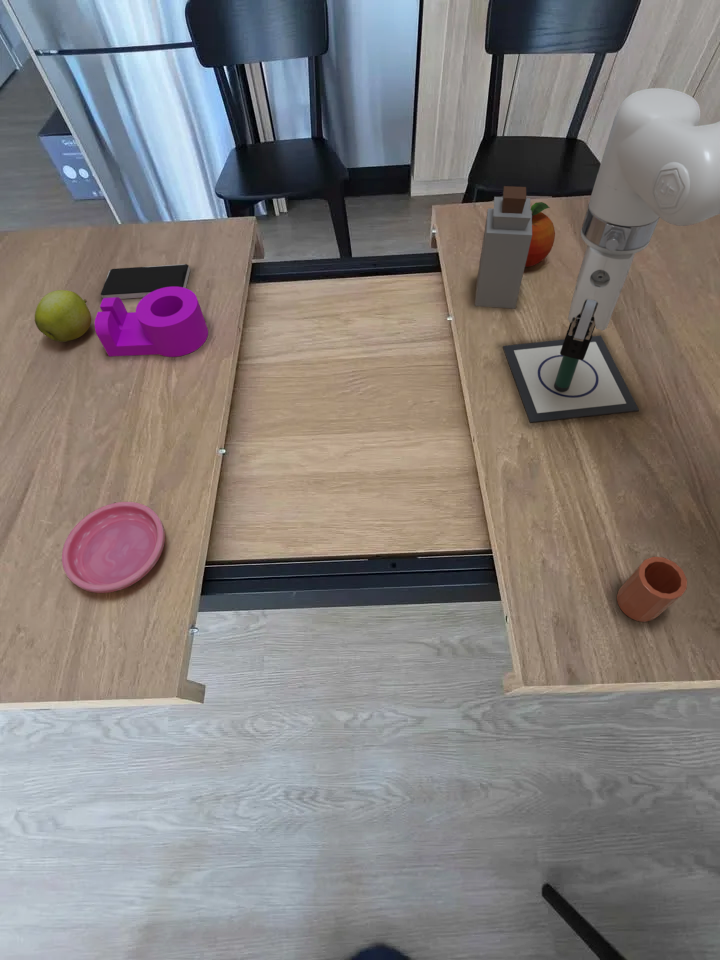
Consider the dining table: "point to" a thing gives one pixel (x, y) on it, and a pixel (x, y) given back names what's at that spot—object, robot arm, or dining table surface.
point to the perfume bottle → (504, 249)
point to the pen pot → (651, 589)
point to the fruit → (540, 235)
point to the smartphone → (143, 280)
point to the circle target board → (589, 391)
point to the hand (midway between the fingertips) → (574, 348)
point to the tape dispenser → (153, 324)
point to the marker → (566, 372)
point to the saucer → (113, 547)
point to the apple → (62, 316)
